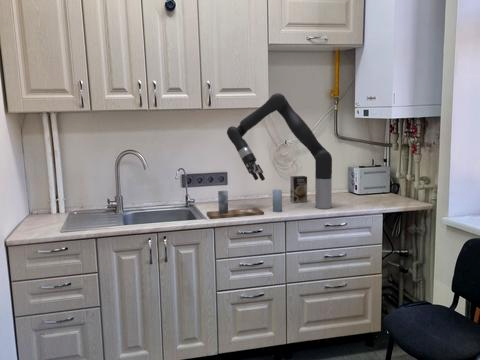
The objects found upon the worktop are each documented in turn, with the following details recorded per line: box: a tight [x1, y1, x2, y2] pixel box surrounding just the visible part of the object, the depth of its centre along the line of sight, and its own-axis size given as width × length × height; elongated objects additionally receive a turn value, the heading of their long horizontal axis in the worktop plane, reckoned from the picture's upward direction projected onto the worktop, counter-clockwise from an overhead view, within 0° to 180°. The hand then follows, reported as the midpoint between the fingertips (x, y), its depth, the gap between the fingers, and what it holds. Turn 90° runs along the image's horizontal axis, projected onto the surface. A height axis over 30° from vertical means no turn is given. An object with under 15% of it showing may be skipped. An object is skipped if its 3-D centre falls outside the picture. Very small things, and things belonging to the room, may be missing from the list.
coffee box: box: [289, 175, 308, 204], centre depth 272 cm, size 9×6×16 cm
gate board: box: [206, 190, 265, 220], centre depth 242 cm, size 30×12×14 cm, turn 104°
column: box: [272, 189, 283, 213], centre depth 247 cm, size 5×5×12 cm
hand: (260, 179), depth 249 cm, fingers open, 8 cm apart
